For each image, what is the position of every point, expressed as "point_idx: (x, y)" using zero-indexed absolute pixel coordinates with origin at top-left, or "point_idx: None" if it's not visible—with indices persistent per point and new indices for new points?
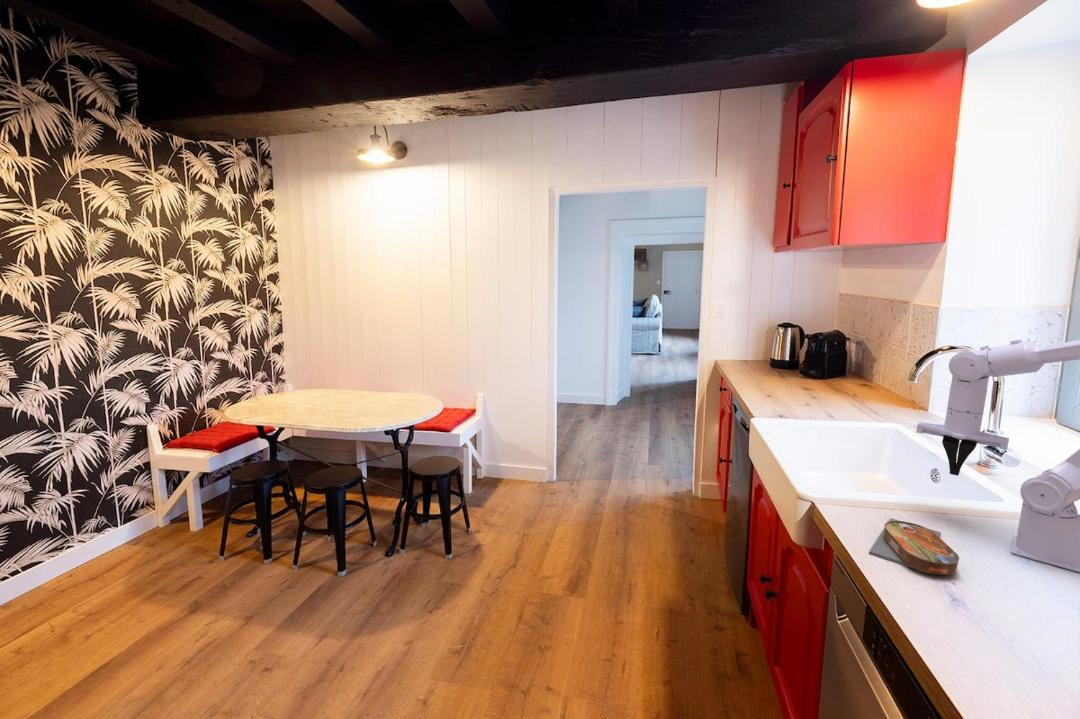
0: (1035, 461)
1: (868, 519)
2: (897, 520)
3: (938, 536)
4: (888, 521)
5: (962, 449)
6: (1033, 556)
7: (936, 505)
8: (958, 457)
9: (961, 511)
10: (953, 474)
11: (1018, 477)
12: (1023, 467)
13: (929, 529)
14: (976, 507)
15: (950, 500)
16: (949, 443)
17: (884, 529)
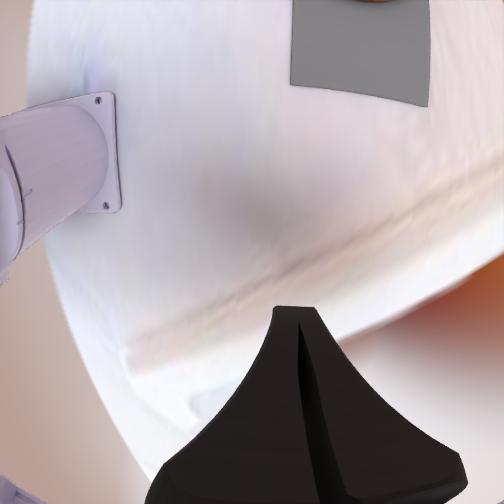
0: None
1: (466, 83)
2: (410, 99)
3: (294, 43)
4: (429, 77)
5: (271, 469)
6: (72, 103)
7: None
8: (292, 395)
9: (250, 310)
10: (296, 306)
11: None
12: None
13: (323, 84)
14: (223, 352)
15: None
16: (423, 492)
17: (427, 14)
